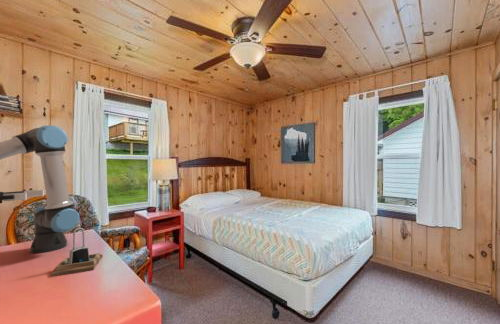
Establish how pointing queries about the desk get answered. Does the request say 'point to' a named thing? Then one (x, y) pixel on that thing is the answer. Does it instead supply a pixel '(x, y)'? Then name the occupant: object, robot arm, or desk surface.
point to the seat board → (77, 265)
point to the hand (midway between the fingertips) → (35, 194)
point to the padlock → (79, 251)
